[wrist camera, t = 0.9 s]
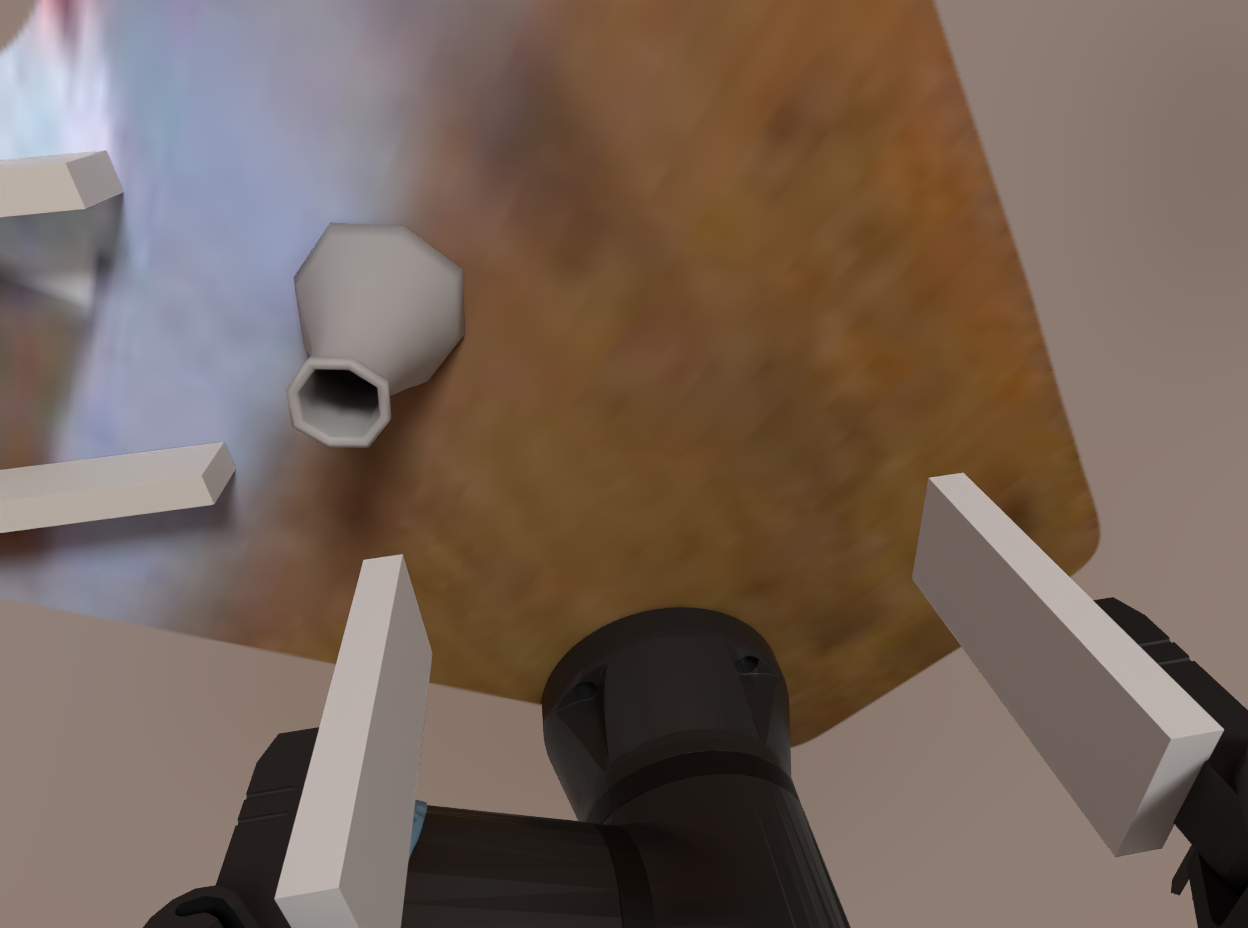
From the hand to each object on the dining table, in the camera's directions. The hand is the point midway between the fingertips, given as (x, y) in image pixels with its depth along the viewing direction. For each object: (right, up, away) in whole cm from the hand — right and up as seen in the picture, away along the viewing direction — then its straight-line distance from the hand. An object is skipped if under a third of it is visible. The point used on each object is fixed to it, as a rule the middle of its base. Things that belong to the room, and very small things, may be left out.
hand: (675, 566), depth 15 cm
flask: (-12, +9, +17) cm, 22 cm away
